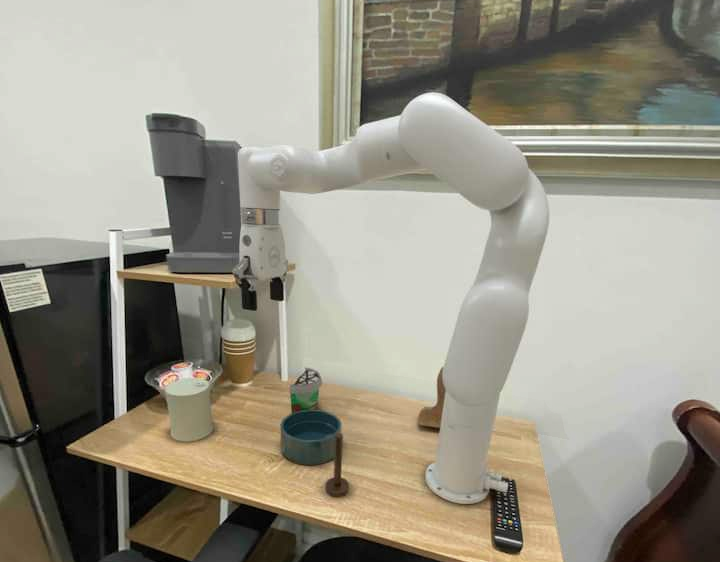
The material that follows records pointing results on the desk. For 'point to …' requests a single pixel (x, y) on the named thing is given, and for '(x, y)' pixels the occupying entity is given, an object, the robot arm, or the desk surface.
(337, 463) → the brown peg stand
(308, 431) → the bowl
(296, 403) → the food container
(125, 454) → the desk surface
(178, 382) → the can
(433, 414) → the brown wooden bookend
